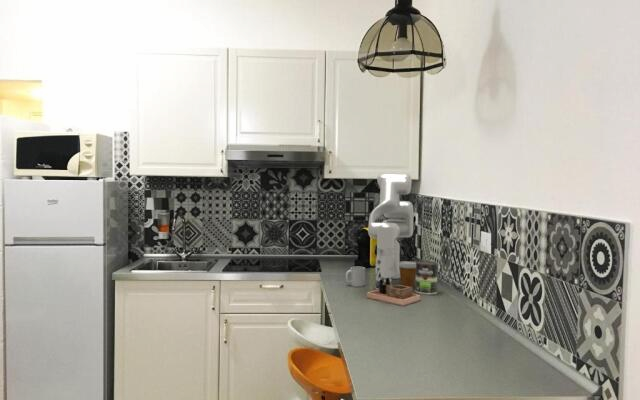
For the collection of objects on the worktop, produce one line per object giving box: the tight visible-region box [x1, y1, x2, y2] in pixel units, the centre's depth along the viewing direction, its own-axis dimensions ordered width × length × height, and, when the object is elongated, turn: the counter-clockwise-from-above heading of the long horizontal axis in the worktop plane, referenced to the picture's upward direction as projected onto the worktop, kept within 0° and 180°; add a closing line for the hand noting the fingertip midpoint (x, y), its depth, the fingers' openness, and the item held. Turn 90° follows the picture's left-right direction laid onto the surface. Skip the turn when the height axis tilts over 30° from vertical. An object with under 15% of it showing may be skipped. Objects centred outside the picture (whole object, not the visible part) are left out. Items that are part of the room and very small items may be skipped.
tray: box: [366, 289, 421, 307], centre depth 207 cm, size 13×19×2 cm
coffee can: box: [414, 260, 439, 296], centre depth 221 cm, size 10×10×14 cm
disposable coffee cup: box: [398, 260, 417, 288], centre depth 233 cm, size 10×10×12 cm
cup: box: [345, 265, 366, 288], centre depth 234 cm, size 7×10×9 cm
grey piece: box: [373, 280, 379, 290], centre depth 227 cm, size 4×4×8 cm
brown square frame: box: [381, 284, 414, 299], centre depth 206 cm, size 14×8×4 cm, turn 47°
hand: (384, 292), depth 210 cm, fingers closed on brown square frame, 2 cm apart
